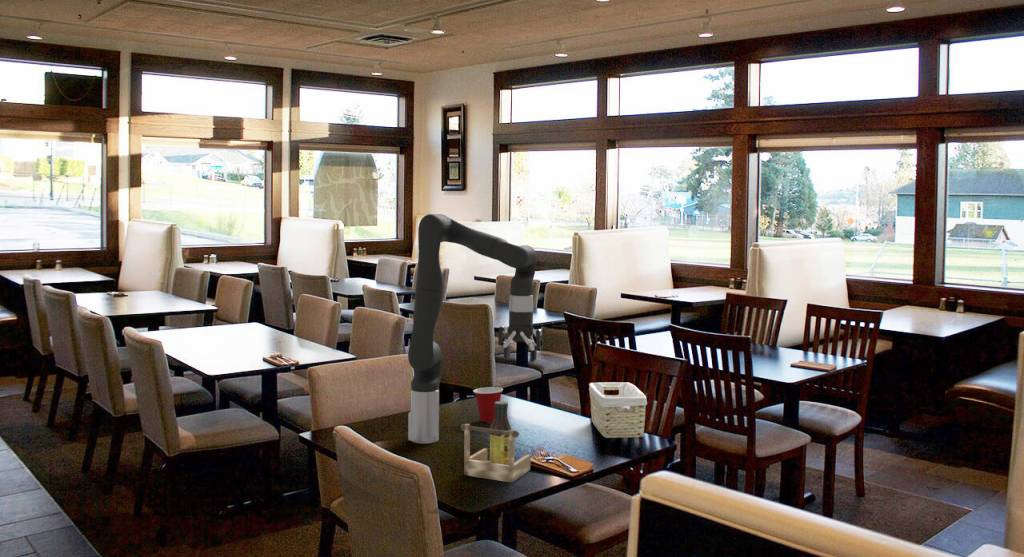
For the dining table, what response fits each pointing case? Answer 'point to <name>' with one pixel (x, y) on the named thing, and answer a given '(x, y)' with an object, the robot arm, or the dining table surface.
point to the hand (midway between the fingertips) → (520, 360)
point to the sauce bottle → (500, 435)
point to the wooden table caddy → (495, 471)
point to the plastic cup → (487, 402)
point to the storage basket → (618, 410)
